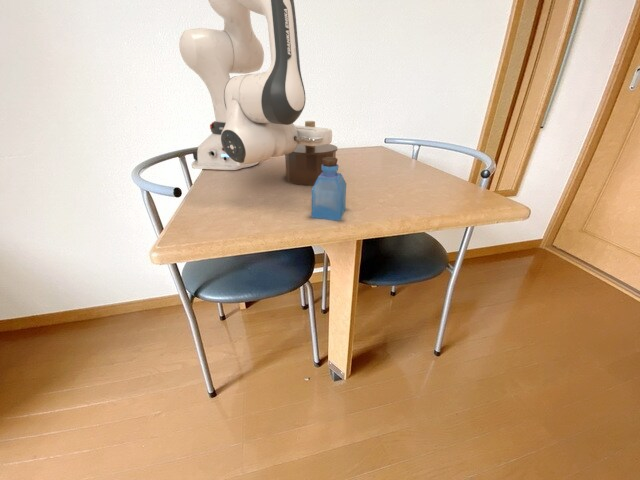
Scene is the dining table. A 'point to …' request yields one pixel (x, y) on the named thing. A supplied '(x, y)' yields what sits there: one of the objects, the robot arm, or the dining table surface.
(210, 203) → the dining table surface
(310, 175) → the dark brown pot
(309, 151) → the lid
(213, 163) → the robot arm
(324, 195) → the perfume bottle
